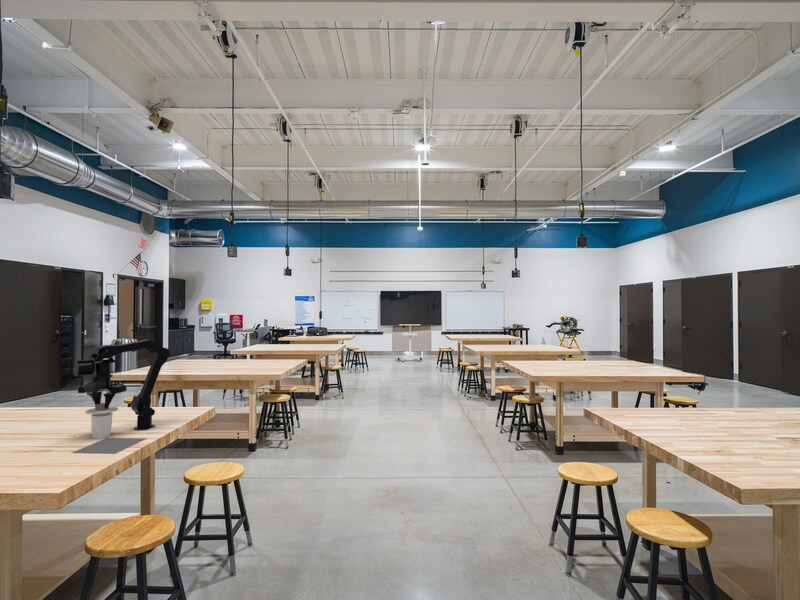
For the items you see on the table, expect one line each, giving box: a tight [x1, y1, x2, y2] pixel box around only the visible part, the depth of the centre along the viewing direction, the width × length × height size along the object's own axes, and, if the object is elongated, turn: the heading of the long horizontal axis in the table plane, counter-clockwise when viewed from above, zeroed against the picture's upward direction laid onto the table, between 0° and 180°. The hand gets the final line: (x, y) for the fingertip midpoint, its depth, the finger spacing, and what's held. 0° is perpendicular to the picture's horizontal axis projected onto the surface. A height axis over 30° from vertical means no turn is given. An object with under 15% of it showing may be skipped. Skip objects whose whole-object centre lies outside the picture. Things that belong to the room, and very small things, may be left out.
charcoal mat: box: [71, 437, 148, 455], centre depth 177 cm, size 20×18×1 cm
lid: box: [85, 402, 119, 415], centre depth 190 cm, size 12×12×3 cm
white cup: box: [90, 412, 113, 439], centre depth 190 cm, size 8×8×10 cm
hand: (102, 408), depth 190 cm, fingers closed on lid, 4 cm apart
